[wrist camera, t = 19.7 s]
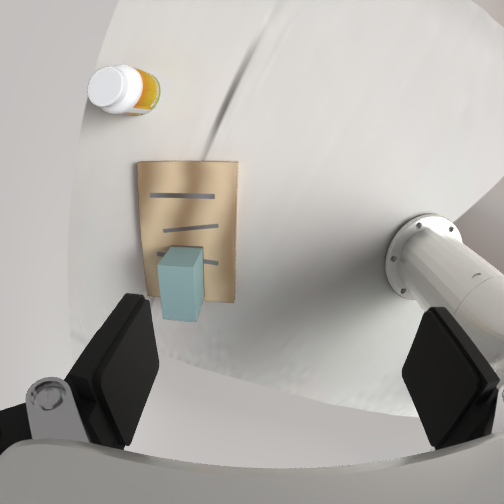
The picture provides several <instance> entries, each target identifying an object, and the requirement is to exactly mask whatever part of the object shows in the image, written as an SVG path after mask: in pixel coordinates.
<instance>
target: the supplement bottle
mask: <svg viewBox="0 0 504 504" xmlns="http://www.w3.org/2000/svg"><path fill="white" fill-rule="evenodd" d="M87 93H88V97H89V99H90V101H91V102H92V103H93V104H94V105H96V106H99V107H100V108H101V109H102V110H103V111H105V112H107V113H110V114H122V115H143V114H146V113H148V112H150V111H152V110H153V109H154V108H155V107H156V106H157V104H158V103H159V101H160V98H161V93H162V90H161V85H160V83H159V81H158V79H157V78H156V77H154V76H153V75H151V74H149V73H146V72H144V71H141V70H139V69H136V68H134V67H131V66H128V65H116V66H113V67H104V68H102V69H100V70H98V71H97V72H96V73H95V74H94V75H93V76H92V77H91V79H90V81H89V83H88V88H87Z"/></svg>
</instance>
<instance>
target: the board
mask: <svg viewBox="0 0 504 504" xmlns="http://www.w3.org/2000/svg"><path fill="white" fill-rule="evenodd" d="M137 169H138V195H139V213H140V227H141V240H142V251H143V261H144V270H145V279H146V287H147V295H148V296H154V297H160V288H159V278H158V268H157V265H158V263H159V262H160V261H161V259H162V258H163V257H164V255H165V254H166V252H167V251H168V250H169V248H170V247H171V246H172V245H183V246H202V247H203V252H204V291H205V297H204V300H203V301H214V302H229V303H234V300H235V261H236V222H237V189H238V162H227V161H145V162H138V163H137Z"/></svg>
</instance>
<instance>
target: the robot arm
mask: <svg viewBox="0 0 504 504" xmlns="http://www.w3.org/2000/svg"><path fill="white" fill-rule="evenodd" d="M416 224H417V225H416ZM392 256H393V257H392ZM385 269H386V275H387V278H388V281H389V283H390V284H391V286H392V288H393V289H394V290H395V291H396V292H397V293H398V294H399V295H400V296H402V297H404V298H406V299H410V300H416V301H417V302H418V304H419V305H420V306H421V308H422V309H423V310H424V312H425V313H424V314H423V317H422V320H421V322H420V325H419V328H418V331H417V333H416V336H415V339H414V341H413V344H412V346H411V349H410V351H409V354H408V356H407V359H406V361H405V363H404V366H403V368H402V377H403V380H404V382H405V384H406V387H407V389H408V391H409V393H410V396H411V398H412V400H413V403H414V405H415V407H416V410H417V412H418V415H419V417H420V419H421V422H422V424H423V427H424V429H425V432H426V435H427V437H428V440H429V442H430V444H431V446H432V449H431V452H426V453H422V454H418V455H413V456H407V457H402V458H397V459H391V460H385V461H378V462H371V463H364V464H355V465H347V466H334V467H319V468H288V469H287V468H286V469H277V468H275V469H273V468H245V467H244V468H243V467H229V466H218V465H208V464H199V463H192V462H185V461H178V460H172V459H165V458H159V457H153V456H149V455H143V454H138V453H133V452H129V451H125V450H124V447H125V445H126V446H129V445H130V444H131V442H132V439H133V436H134V433H135V431H136V428H137V425H138V422H139V420H140V417H141V414H142V411H143V409H144V406H145V404H146V401H147V398H148V396H149V393H150V390H151V388H152V385H153V383H154V380H155V377H156V375H157V372H158V369H159V358H158V352H157V347H156V341H155V335H154V329H153V322H152V315H151V309H150V302H149V300H146V299H145V298H144V296H143V295H140V294H130V293H126V294H125V295H124V296H123V298H122V299H121V300H120V302H119V303H118V305H117V306H116V307H115V309H114V310H113V311H112V313H111V314H110V315H109V317H108V318H107V320H106V321H105V322H104V324H103V325H102V327H101V328H100V329H99V330H98V331H97V332H96V334H95V335H94V336H93V338H92V339H91V341H90V342H89V344H88V345H87V347H86V348H85V349H84V351H83V352H82V354H81V355H80V357H79V358H78V360H77V361H76V363H75V364H74V366H73V367H72V369H71V370H70V372H69V373H68V375H67V376H66V378H65V379H64V380H62V379H60V378H57V377H48V378H43V379H40V380H38V381H37V382H36V383H34V384H32V385H31V387H30V388H29V389H28V391H27V394H26V403H23V404H20V405H17V406H14V407H10V408H7V409H4V410H1V411H0V504H504V275H503V274H502V273H501V272H499V271H498V270H497V269H496V268H495V267H493V266H492V265H491V264H489V263H488V262H487V261H486V260H484V259H483V258H482V257H480V256H479V255H478V254H476V253H475V252H474V251H472V250H471V249H470V248H468V247H467V246H466V245H464V244H463V243H462V238H461V236H460V233H459V231H458V229H457V228H456V226H455V225H454V224H453V223H452V222H451V221H449V220H448V219H446V218H445V217H442V216H440V215H435V214H427V215H422V216H419V217H416V218H414V219H412V220H410V221H409V222H408V223H406V224H405V225H404V226H403V227H402V228H401V229H400V230H399V231H398V232H397V233H396V235H395V236H394V238H393V240H392V241H391V243H390V246H389V248H388V251H387V255H386V262H385Z"/></svg>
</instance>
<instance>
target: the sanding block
mask: <svg viewBox="0 0 504 504" xmlns="http://www.w3.org/2000/svg"><path fill="white" fill-rule="evenodd" d="M157 268H158V278H159V288H160V297H161V306H162V314H163V319H168V320H178V321H189V322H196V321H197V318H198V315H199V312H200V309H201V306H202V303H203V300H204V297H205V291H204V252H203V247H202V246H183V245H172V246H171V247H170V248H169V250H168V251H167V252H166V254H165V255H164V257H163V258H162V259H161V261H160V262H159V263H158V265H157Z"/></svg>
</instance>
